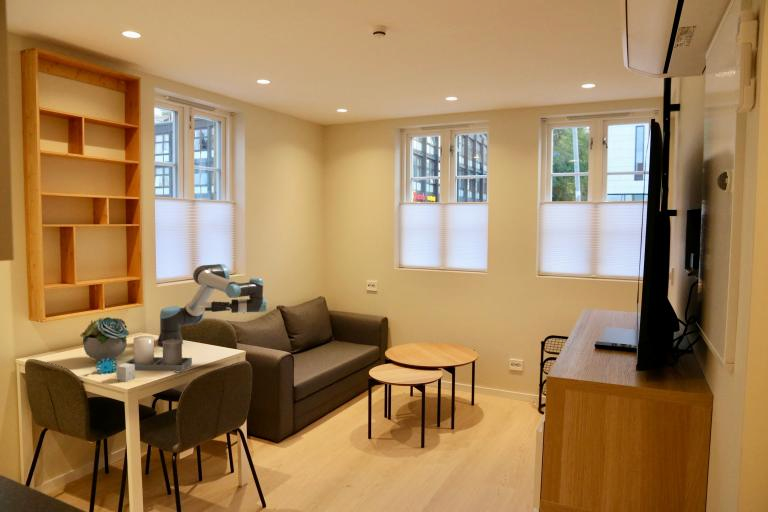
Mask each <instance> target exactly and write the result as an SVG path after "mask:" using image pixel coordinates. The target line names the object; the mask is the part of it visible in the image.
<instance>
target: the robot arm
mask: <svg viewBox="0 0 768 512" xmlns="http://www.w3.org/2000/svg"><path fill="white" fill-rule="evenodd" d="M230 274H231V273H230V269H229V267H228V266H227V265H226V264H224V263H222V264H221V263H217V264H204V265H200V266H197V267H196V268H195V269H194V270H193V274H192V277H193V278H192V279H193V281H194V282H195V283H196V284H197V285H199V286H200V287H199V288H198V289H197V291H196V293H195V295H194V296H193V297H192V299H191V301H188V302H187V303H186V304H185V306H184V307H180V306H178V305H177V306H176V305H175V306H174V305H173V306H166V307H163V308H162V309H161V310H160V313H159V319H160V320H159V321H160V322H159V326H160V327H159V329H160V330H159V335H158V338H157V341H156V343H157V344H156V345H157V346H158V345H159V346H158V347H163V343H162V342H163V341H165V340H170V339H179V340H181V341H182V345H183V344H184V339H183V337H182V336H183V335H182V333H181V327H183V326H184V327H185V326H190V325H191V326H192V325H197V324H200V323H201V322H202V321H203V320H204V315H205V312H212V313H215V312H216V313H217V312H226V311H229V312H230V311H231V313H233V314H234V313H235V314H236V313H237V314H238V312H239V313H242V314H245V313H265V312H266V311H267V305H268V304H267V303H268V302H267V299H266V298H264V279H262V278H260V277H251V278H250V279H249V281H248V282H241V283H240V282H235V281H233V280H232V279H231V278H230V277H231V275H230ZM230 279H231V280H230ZM215 290H216V291H217V290H218V291H219V292H223V293H225V295H226V296H227V297H228V298H230V299H231V298H233V299H231V301H230V302H231V303H230V302H229V301H215V300H213V301H209V300H210V298H211V297H212V295H213V294H214V292H215ZM241 297H242V298H241ZM243 297H248V298H243ZM234 298H235V299H234ZM236 298H240V299H236Z"/></svg>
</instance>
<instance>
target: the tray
mask: <svg viewBox="0 0 768 512" xmlns="http://www.w3.org/2000/svg"><path fill="white" fill-rule="evenodd" d="M125 363H128V364H134V357H132V358H131V359H128V361H126V362H125ZM192 364H193V357H182V365H163V356H156V357H155V356H154V364H153V365H135V371H174V372H175V371H181V372H180V373H183V372H184V371H186V370H187V369H188V368H189V367H190V366H191V365H192ZM188 366H189V367H188ZM187 367H188V368H187ZM186 368H187V369H186ZM185 369H186V370H185ZM183 370H184V371H183Z"/></svg>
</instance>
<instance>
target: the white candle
mask: <svg viewBox="0 0 768 512" xmlns="http://www.w3.org/2000/svg"><path fill="white" fill-rule="evenodd" d="M154 357H155V337H154V336H152V335H151V336H150V335H140V336H137V337H133V358H134V364H135V365H153V364H154Z"/></svg>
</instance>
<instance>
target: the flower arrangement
mask: <svg viewBox="0 0 768 512" xmlns="http://www.w3.org/2000/svg"><path fill="white" fill-rule="evenodd" d="M127 327H128V326H127V325H126V322H125V321H124V320H123V319H122V318H115V317H111V316H110V317H109V316H108V317H107V316H106V317H99V318H97V319H96V320H94V321H93V320H91V321H90V324H89V325H87V327H86V328H85V329H84V331H83V332H82V333H80V335H79V336H80V338H82V344H83V349H84V352H85V354H86V355H87V356H88V357H90V358H92V359H95V360H96V362H97V363H98V362H99V361H100V364H102V363H103V362H102V359H105V360H104V362H106V361H107V358H109V359H110V360H109V361H111V360H112V359H113V360H114V361H115V360H116V358H117V357H119V356H120V355H122V354H123V352H125V350H126V348H127V337H128V336H129V335H130V331H128V330H127ZM109 361H108V362H109Z"/></svg>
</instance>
